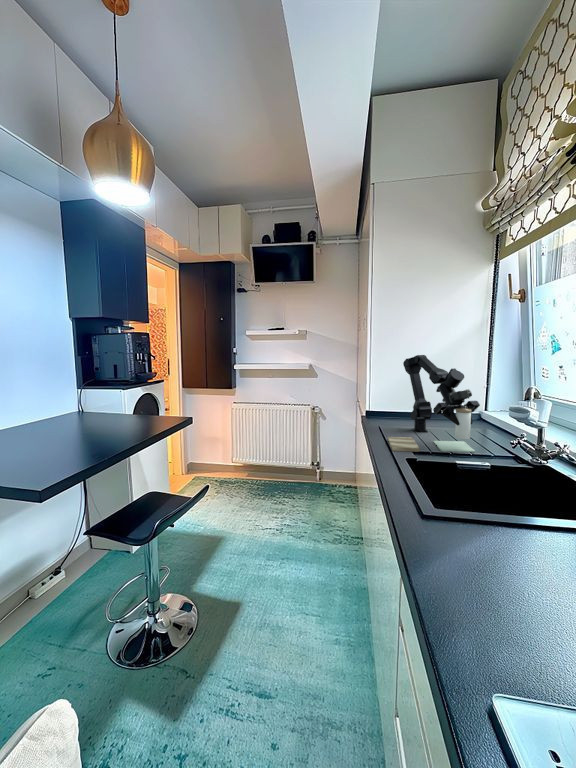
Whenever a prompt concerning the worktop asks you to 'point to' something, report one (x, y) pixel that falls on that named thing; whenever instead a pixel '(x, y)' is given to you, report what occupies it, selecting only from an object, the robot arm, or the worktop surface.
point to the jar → (463, 423)
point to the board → (403, 444)
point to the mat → (453, 446)
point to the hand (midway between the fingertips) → (465, 424)
